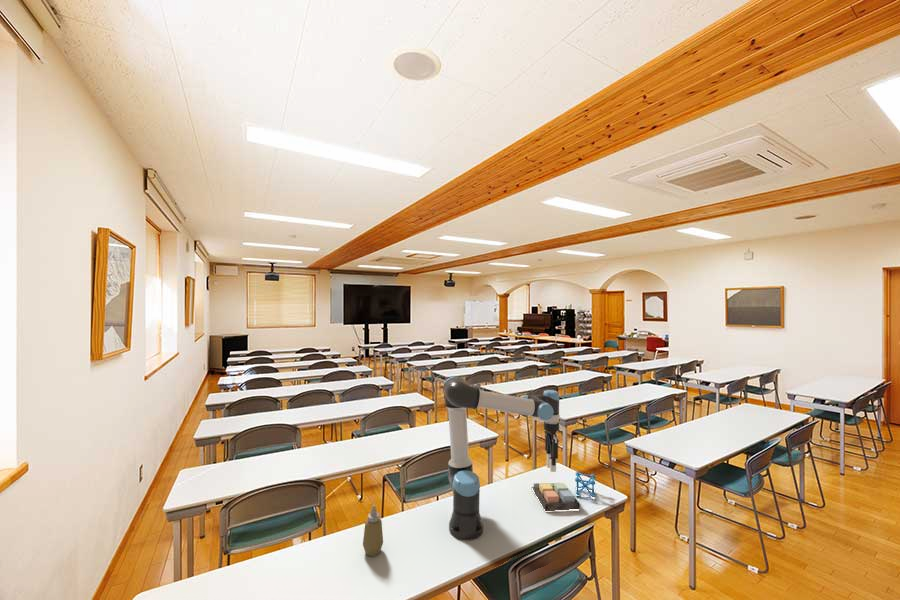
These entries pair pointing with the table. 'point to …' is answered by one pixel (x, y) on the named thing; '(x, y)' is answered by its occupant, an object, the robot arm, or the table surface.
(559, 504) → the keypad
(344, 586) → the table surface
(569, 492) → the slate key
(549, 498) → the terracotta key
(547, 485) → the mustard key
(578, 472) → the molecular structure
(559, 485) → the sage key
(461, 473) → the robot arm
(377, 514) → the squeeze bottle
